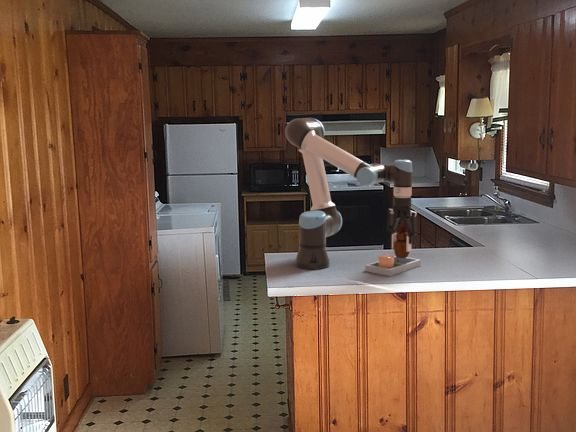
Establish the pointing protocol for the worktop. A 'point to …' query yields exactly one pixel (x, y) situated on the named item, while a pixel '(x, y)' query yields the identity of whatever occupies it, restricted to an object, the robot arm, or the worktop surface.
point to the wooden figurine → (401, 243)
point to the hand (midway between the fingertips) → (401, 249)
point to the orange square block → (386, 261)
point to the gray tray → (399, 266)
